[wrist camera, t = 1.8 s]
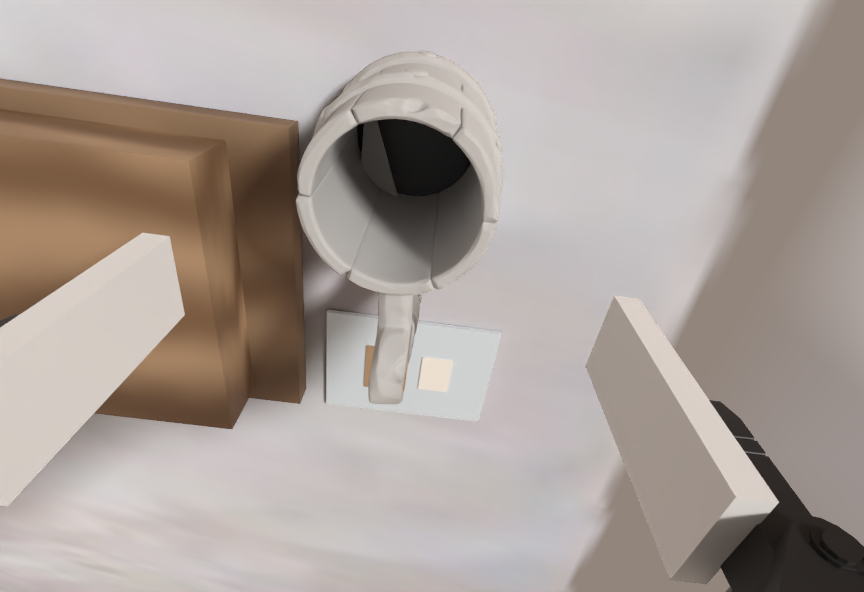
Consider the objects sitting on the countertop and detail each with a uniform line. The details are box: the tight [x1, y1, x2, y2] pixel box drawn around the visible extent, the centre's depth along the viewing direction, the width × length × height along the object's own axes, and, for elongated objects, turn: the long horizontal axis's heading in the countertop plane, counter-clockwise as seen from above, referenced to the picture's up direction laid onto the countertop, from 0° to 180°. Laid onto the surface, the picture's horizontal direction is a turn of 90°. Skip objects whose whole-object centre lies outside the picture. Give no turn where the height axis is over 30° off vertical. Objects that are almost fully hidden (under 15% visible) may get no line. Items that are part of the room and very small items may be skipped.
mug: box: [296, 51, 503, 404], centre depth 18 cm, size 8×12×12 cm, turn 176°
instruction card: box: [326, 309, 502, 422], centre depth 30 cm, size 8×11×1 cm
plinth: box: [0, 79, 306, 429], centre depth 24 cm, size 18×18×5 cm
